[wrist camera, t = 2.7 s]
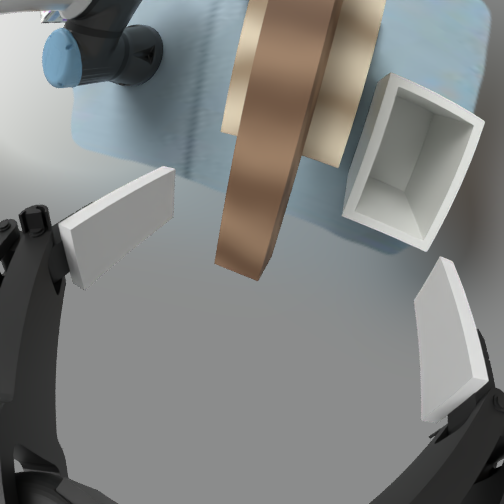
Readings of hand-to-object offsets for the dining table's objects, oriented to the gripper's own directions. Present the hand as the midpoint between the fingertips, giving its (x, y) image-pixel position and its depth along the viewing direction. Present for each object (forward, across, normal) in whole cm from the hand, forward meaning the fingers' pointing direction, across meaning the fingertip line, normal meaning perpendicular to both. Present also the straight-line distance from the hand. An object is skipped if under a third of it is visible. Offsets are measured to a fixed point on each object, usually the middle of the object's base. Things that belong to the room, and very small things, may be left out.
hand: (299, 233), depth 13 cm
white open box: (+41, -9, -1) cm, 42 cm away
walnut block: (+11, +4, -5) cm, 12 cm away
